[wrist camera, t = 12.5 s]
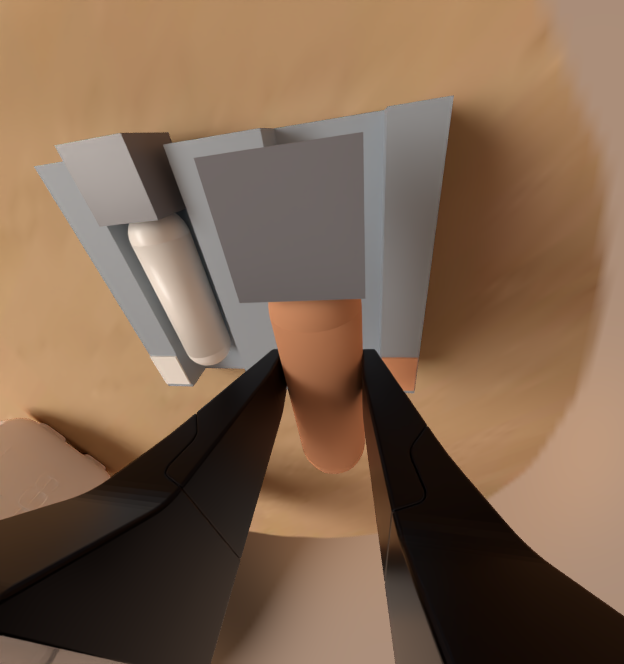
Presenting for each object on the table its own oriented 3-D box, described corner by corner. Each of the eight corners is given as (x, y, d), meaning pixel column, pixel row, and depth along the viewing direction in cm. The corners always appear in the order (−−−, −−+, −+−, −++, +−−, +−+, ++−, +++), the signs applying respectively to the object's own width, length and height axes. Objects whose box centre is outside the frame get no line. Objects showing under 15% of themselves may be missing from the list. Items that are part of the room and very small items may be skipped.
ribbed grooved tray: (407, 360, 18) (414, 394, 15) (189, 358, 21) (167, 386, 19) (434, 102, 10) (454, 95, 8) (88, 160, 13) (31, 166, 11)
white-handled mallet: (243, 347, 18) (226, 377, 16) (205, 347, 18) (183, 376, 16) (168, 132, 11) (120, 133, 9) (112, 142, 12) (54, 145, 10)
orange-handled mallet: (367, 431, 13) (367, 494, 11) (308, 428, 13) (298, 487, 11) (363, 132, 6) (363, 132, 4) (249, 149, 7) (193, 158, 5)
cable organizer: (-23, 414, 33) (-174, 525, 24) (28, 404, 29) (-126, 529, 20) (76, 478, 41) (-10, 580, 31) (125, 475, 37) (46, 590, 28)
